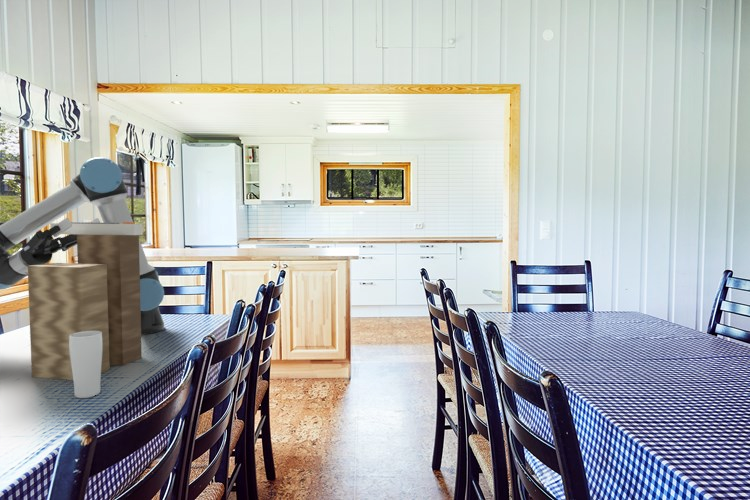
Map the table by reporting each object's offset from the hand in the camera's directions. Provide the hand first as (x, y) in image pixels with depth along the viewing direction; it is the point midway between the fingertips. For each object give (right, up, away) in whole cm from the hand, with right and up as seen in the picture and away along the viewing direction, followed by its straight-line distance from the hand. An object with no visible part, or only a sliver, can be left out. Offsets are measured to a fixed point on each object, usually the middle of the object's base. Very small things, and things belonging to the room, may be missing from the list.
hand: (85, 221), depth 135 cm
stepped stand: (+5, -42, -5) cm, 43 cm away
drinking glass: (+17, -44, -26) cm, 54 cm away
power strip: (+4, -4, 0) cm, 5 cm away
